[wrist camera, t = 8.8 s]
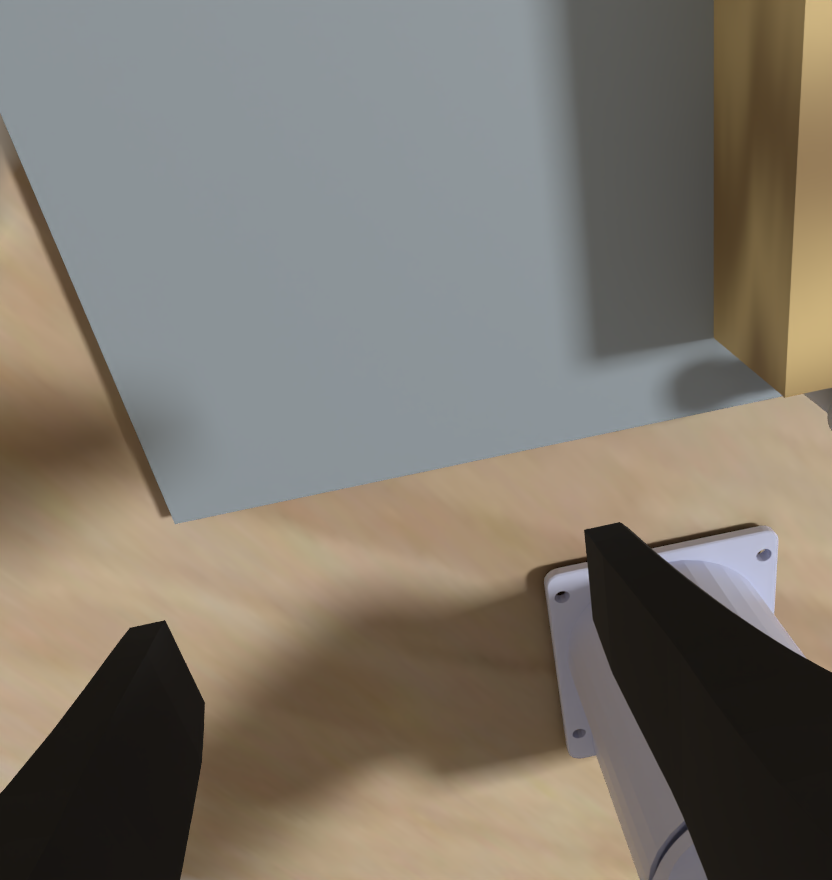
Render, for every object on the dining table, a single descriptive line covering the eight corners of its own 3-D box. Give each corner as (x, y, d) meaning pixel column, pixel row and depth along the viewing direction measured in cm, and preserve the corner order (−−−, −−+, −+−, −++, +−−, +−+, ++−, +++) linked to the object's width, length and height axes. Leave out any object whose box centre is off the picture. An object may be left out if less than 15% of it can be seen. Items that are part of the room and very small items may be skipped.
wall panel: (1001, 341, 23) (1114, 395, 20) (178, 514, 24) (150, 597, 20) (1147, -373, 16) (1372, -483, 12) (-80, -100, 16) (-194, -134, 13)
